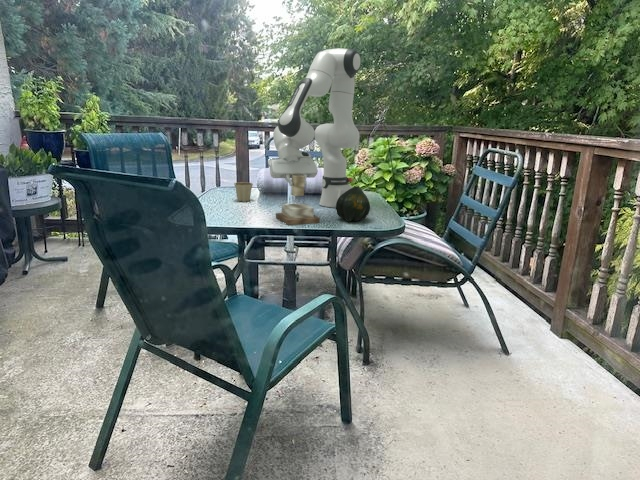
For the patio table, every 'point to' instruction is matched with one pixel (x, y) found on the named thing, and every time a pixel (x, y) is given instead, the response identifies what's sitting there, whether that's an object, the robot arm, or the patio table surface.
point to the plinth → (297, 221)
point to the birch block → (297, 185)
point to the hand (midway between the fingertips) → (298, 184)
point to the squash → (353, 205)
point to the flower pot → (243, 191)
